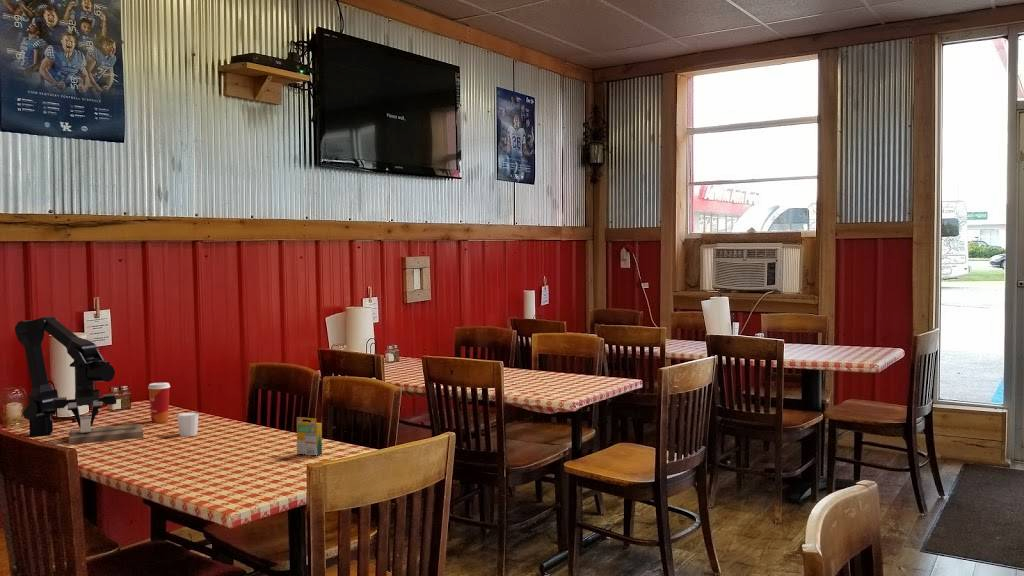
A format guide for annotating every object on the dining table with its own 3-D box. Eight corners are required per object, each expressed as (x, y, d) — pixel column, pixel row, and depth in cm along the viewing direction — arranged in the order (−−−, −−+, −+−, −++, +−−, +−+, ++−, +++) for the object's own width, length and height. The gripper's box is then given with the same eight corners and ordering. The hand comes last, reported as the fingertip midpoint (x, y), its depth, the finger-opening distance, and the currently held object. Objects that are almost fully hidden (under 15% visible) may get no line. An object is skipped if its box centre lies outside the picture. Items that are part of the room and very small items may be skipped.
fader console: (68, 444, 264) (68, 438, 264) (69, 436, 277) (69, 429, 277) (143, 437, 275) (143, 431, 274) (140, 429, 287) (140, 423, 287)
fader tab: (80, 434, 269) (80, 419, 269) (80, 430, 275) (80, 416, 275) (90, 433, 271) (90, 419, 271) (90, 429, 276) (90, 415, 276)
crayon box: (322, 454, 251) (322, 416, 250) (317, 456, 248) (316, 418, 247) (302, 452, 253) (301, 415, 253) (296, 454, 250) (296, 417, 250)
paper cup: (149, 420, 303) (149, 382, 303) (172, 418, 306) (171, 381, 305) (147, 424, 296) (146, 386, 295) (170, 423, 298) (169, 384, 298)
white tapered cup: (202, 432, 282) (202, 412, 282) (193, 436, 275) (192, 416, 275) (183, 432, 283) (183, 411, 283) (173, 436, 276) (173, 415, 276)
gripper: (51, 385, 261) (52, 434, 261) (116, 381, 269) (117, 428, 270) (53, 381, 271) (54, 427, 271) (115, 377, 279) (116, 422, 280)
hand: (85, 426), depth 273 cm, fingers closed on fader tab, 3 cm apart
